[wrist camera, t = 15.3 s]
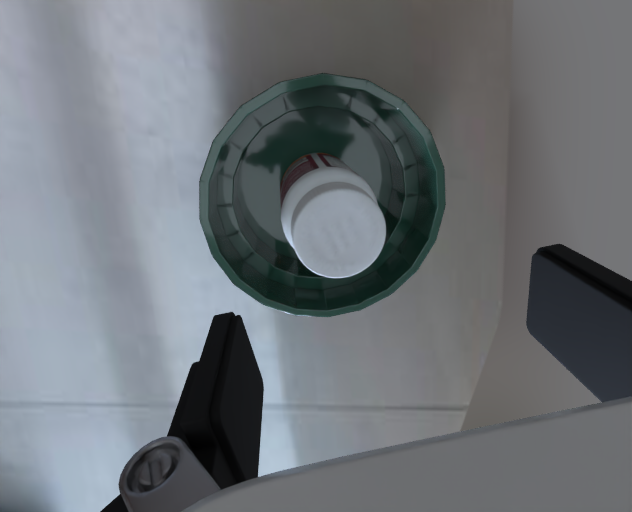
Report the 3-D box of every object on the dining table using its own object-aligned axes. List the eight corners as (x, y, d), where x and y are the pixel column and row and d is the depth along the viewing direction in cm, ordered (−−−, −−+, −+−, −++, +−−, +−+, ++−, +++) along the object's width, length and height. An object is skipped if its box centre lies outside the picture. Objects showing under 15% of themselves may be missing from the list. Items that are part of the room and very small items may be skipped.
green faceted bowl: (400, 62, 26) (440, 48, 20) (415, 254, 33) (448, 291, 26) (188, 105, 26) (159, 106, 20) (247, 291, 33) (239, 336, 26)
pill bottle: (284, 228, 30) (287, 293, 20) (276, 154, 27) (274, 185, 17) (354, 221, 30) (394, 282, 20) (353, 148, 28) (397, 174, 17)
